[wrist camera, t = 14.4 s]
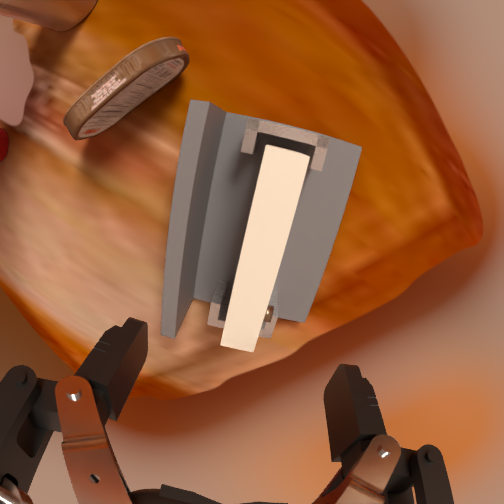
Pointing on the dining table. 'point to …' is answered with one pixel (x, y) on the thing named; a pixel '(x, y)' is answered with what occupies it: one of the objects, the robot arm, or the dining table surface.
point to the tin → (126, 86)
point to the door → (264, 245)
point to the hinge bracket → (247, 213)
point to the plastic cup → (3, 144)
